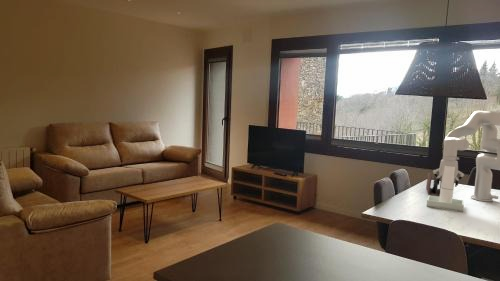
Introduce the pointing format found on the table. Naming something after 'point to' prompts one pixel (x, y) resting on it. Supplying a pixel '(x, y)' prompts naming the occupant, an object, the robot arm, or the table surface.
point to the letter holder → (434, 190)
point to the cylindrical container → (447, 185)
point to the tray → (445, 204)
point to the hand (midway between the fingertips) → (447, 185)
